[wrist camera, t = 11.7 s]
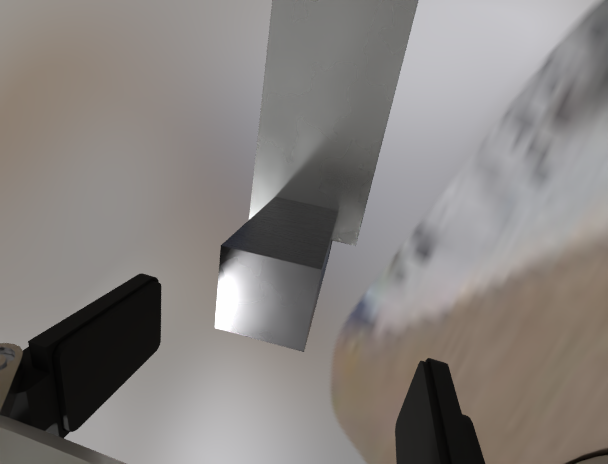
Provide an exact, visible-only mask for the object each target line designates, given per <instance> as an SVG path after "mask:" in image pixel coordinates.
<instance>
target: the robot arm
mask: <svg viewBox="0 0 608 464" xmlns="http://www.w3.org/2000/svg"><path fill="white" fill-rule="evenodd" d="M160 338H161V284H160V283H158V279H157V278H156V277H152V276H149V275H146V274H139V275H137V276H135V277H134V278H132V279H130V280H128V281H127V282H125V283H124V284H122V285H121V286H119V287H117V288H115V289H114V290H112V291H110V292H109V293H107V294H106V295H104V296H102V297H100V298H99V299H97V300H95V301H94V302H92V303H91V304H89V305H87V306H86V307H84V308H83V309H81V310H79V311H77V312H76V313H74V314H72V315H71V316H69V317H67V318H66V319H64V320H62V321H61V322H60V323H58V324H56V325H54V326H53V327H51V328H49V329H48V330H46V331H45V332H43V333H41V334H39V335H38V336H36V337H34V338H33V339H31V340H30V341H28V343H29V347H28V348H26V349H24V350H23V351H22V349H21V348H20V347H19V346H17V345H15V344H9V343H0V464H126V463H124V462H121V461H118V460H116V459H114V458H111V457H108V456H106V455H104V454H101V453H99V452H96V451H94V450H91V449H89V448H86V447H83V446H81V445H79V444H76V443H73V442H71V441H68V440H66V439H64V437H65V436H66V435H67V434H68V433H69V432H70V431H71V432H73V431H75V430H77V429H78V428H79V427H80V426H81V425H82V424H83V423H84V422H85V421H86V420H87V419H88V418H89V417H90V416H91V415H92V414H93V413H94V412H95V411H96V410H97V409H98V408H99V407H100V406H101V405H102V404H103V403H104V402H106V400H107V399H108V398H110V397H111V395H113V393H114V392H116V391H117V390H118V388H119V387H121V386H122V385H123V384H124V383H125V381H127V380H128V379H129V378H130V377H131V376H132V375H133V374H134V373H135V372H136V371H137V369H139V368H140V367H141V366H142V365H143V364H144V363H145V362H146V361H147V360H148V359H149V358H150V357H151V356H152V355H153V354H154V353H155V352H156V351H157V349H158V347H159V345H160V340H161V339H160ZM395 437H396V459H397V464H485V461H484V458H483V455H482V452H481V448H480V445H479V442H478V439H477V436H476V432H475V429H474V426H473V423H472V421H471V419H470V418H469V417H468V416H466V415H462V413H461V409H460V406H459V402H458V399H457V395H456V392H455V388H454V384H453V381H452V377H451V374H450V370H449V367H448V364H446V363H444V362H440V361H437V360H434V359H430V358H428V359H427V360H426V362H424V361H420V362H419V364H418V367H417V369H416V372H415V375H414V377H413V380H412V382H411V385H410V388H409V390H408V393H407V395H406V398H405V400H404V403H403V406H402V408H401V411H400V413H399V416H398V418H397V422H396V428H395ZM575 464H608V455H603V456H597V457H594V458H590V459H587V460H583V461H580V462H578V463H575Z"/></svg>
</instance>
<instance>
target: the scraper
mask: <svg viewBox="0 0 608 464" xmlns="http://www.w3.org/2000/svg"><path fill="white" fill-rule="evenodd" d="M417 3H418V0H272V9H271V19H270V29H269V38H268V47H267V56H266V66H265V75H264V85H263V94H262V103H261V112H260V122H259V131H258V140H257V149H256V159H255V168H254V178H253V188H252V196H251V206H250V215H249V221H248V222H246V223H245V224H244V225H243V226H242V227H241V228H240V229H239V230H238V231H237V232H235V233H234V234H233V235H232V236H231V237H230V238H229V239H228V240H226V242H224V243H223V244H222V245H221V251H220V265H219V278H218V293H217V307H216V319H215V320H216V321H215V328H218V329H221V330H225V331H229V332H232V333H236V334H240V335H243V336H247V337H251V338H254V339H258V340H262V341H266V342H269V343H273V344H277V345H280V346H284V347H287V348H291V349H295V350H299V351H302V352H304V349H305V345H306V342H307V338H308V334H309V331H310V327H311V323H312V319H313V315H314V312H315V308H316V304H317V300H318V296H319V293H320V289H321V285H322V281H323V277H324V274H325V270H326V266H327V262H328V257H329V254H330V249H331V244H332V240H333V241H337V242H341V243H346V244H350V245H355V246H356V242H357V239H358V235H359V231H360V227H361V223H362V219H363V215H364V211H365V208H366V204H367V200H368V196H369V192H370V188H371V184H372V180H373V176H374V172H375V168H376V164H377V160H378V157H379V152H380V149H381V145H382V141H383V137H384V133H385V129H386V125H387V121H388V117H389V113H390V109H391V106H392V102H393V98H394V94H395V90H396V86H397V82H398V78H399V74H400V70H401V66H402V62H403V58H404V54H405V51H406V47H407V43H408V39H409V35H410V31H411V27H412V23H413V19H414V15H415V11H416V7H417Z"/></svg>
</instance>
